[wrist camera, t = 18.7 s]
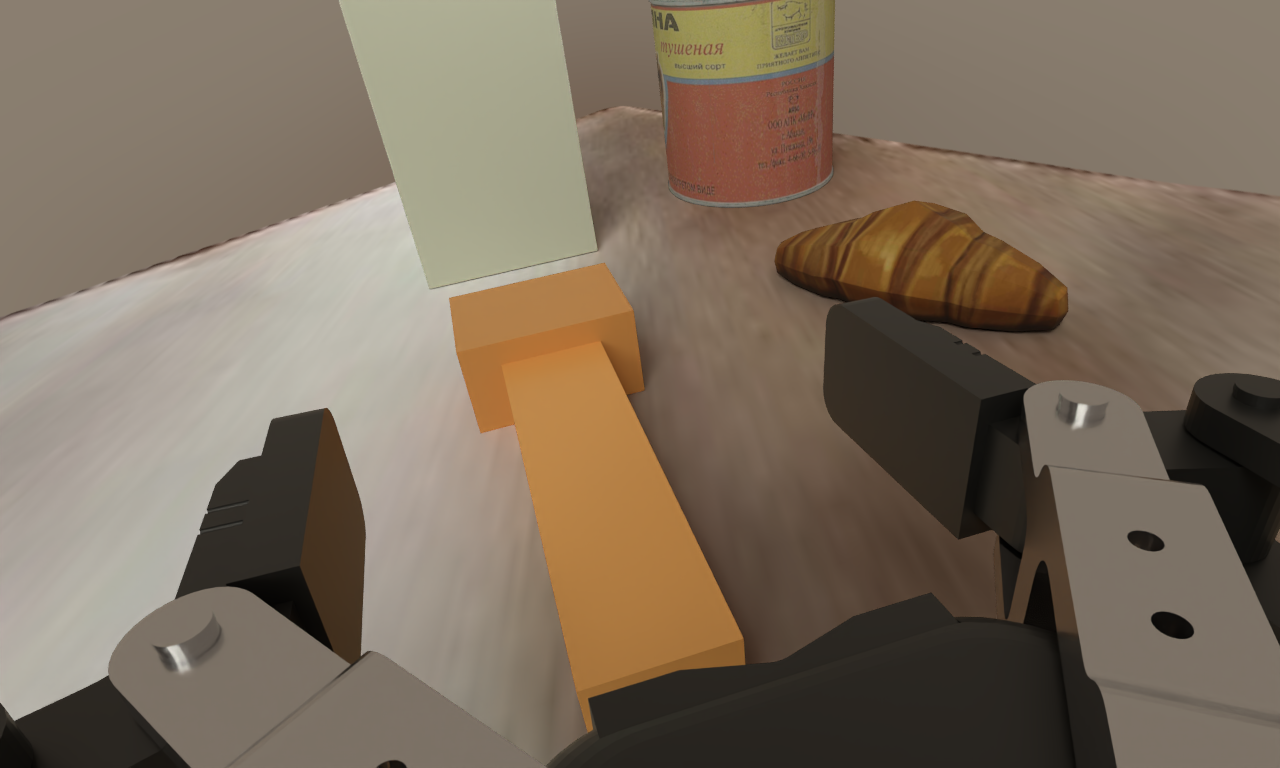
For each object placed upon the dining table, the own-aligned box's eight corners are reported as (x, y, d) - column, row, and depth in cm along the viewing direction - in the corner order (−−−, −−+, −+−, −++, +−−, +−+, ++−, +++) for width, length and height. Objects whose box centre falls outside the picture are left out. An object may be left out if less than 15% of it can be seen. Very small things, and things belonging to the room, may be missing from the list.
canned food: (682, 156, 57) (665, -18, 51) (832, 146, 55) (835, -39, 48) (655, 211, 48) (630, 8, 42) (833, 203, 46) (838, -15, 39)
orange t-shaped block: (803, 695, 19) (803, 590, 17) (537, 785, 18) (500, 685, 16) (616, 339, 35) (604, 262, 33) (471, 374, 34) (449, 297, 32)
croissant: (1084, 300, 33) (1109, 192, 30) (1039, 374, 29) (1063, 257, 26) (811, 250, 41) (811, 161, 38) (745, 303, 37) (740, 207, 34)
